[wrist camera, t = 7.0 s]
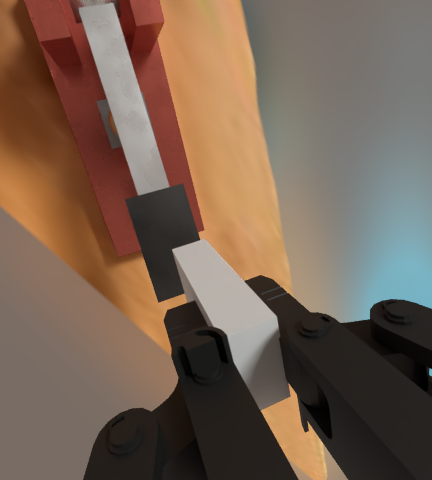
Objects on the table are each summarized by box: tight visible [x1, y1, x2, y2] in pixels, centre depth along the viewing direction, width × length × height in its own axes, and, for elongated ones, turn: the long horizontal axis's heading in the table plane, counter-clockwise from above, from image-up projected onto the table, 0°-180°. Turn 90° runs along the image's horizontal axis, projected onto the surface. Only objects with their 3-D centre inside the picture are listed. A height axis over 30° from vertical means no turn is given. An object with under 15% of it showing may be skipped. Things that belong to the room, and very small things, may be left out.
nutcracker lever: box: [69, 0, 200, 303], centre depth 23 cm, size 23×4×2 cm, turn 13°
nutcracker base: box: [24, 0, 204, 257], centre depth 28 cm, size 25×10×10 cm, turn 13°
